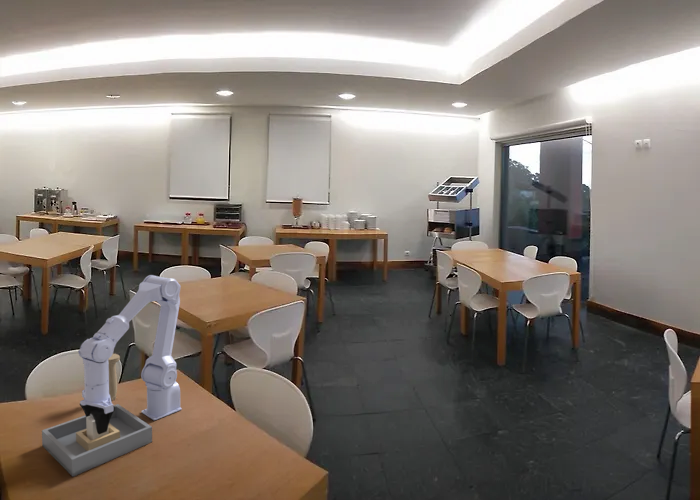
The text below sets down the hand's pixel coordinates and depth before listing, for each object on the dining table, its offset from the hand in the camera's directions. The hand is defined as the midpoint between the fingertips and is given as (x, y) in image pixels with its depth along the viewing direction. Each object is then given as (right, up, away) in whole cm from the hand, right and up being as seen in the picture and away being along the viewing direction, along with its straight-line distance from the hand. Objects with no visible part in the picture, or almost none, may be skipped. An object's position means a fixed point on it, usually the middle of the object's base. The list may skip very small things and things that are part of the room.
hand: (97, 428), depth 116 cm
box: (0, -4, +1) cm, 4 cm away
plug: (0, -3, 0) cm, 3 cm away
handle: (-11, -1, +26) cm, 28 cm away
